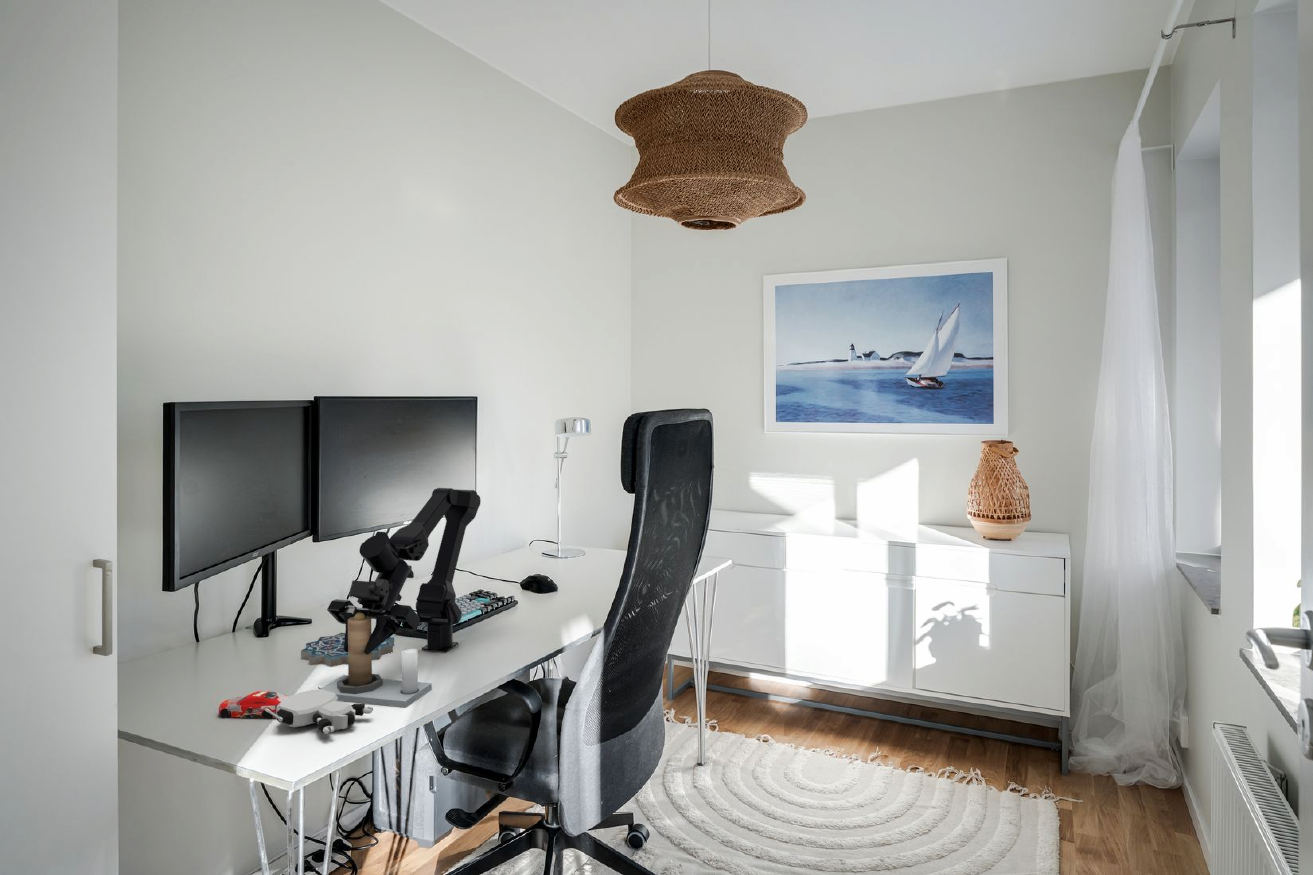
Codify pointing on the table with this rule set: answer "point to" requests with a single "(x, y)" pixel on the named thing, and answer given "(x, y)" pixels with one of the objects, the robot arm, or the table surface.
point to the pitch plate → (385, 686)
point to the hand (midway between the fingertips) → (355, 652)
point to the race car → (252, 705)
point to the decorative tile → (338, 650)
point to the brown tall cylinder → (359, 650)
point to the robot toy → (318, 711)
